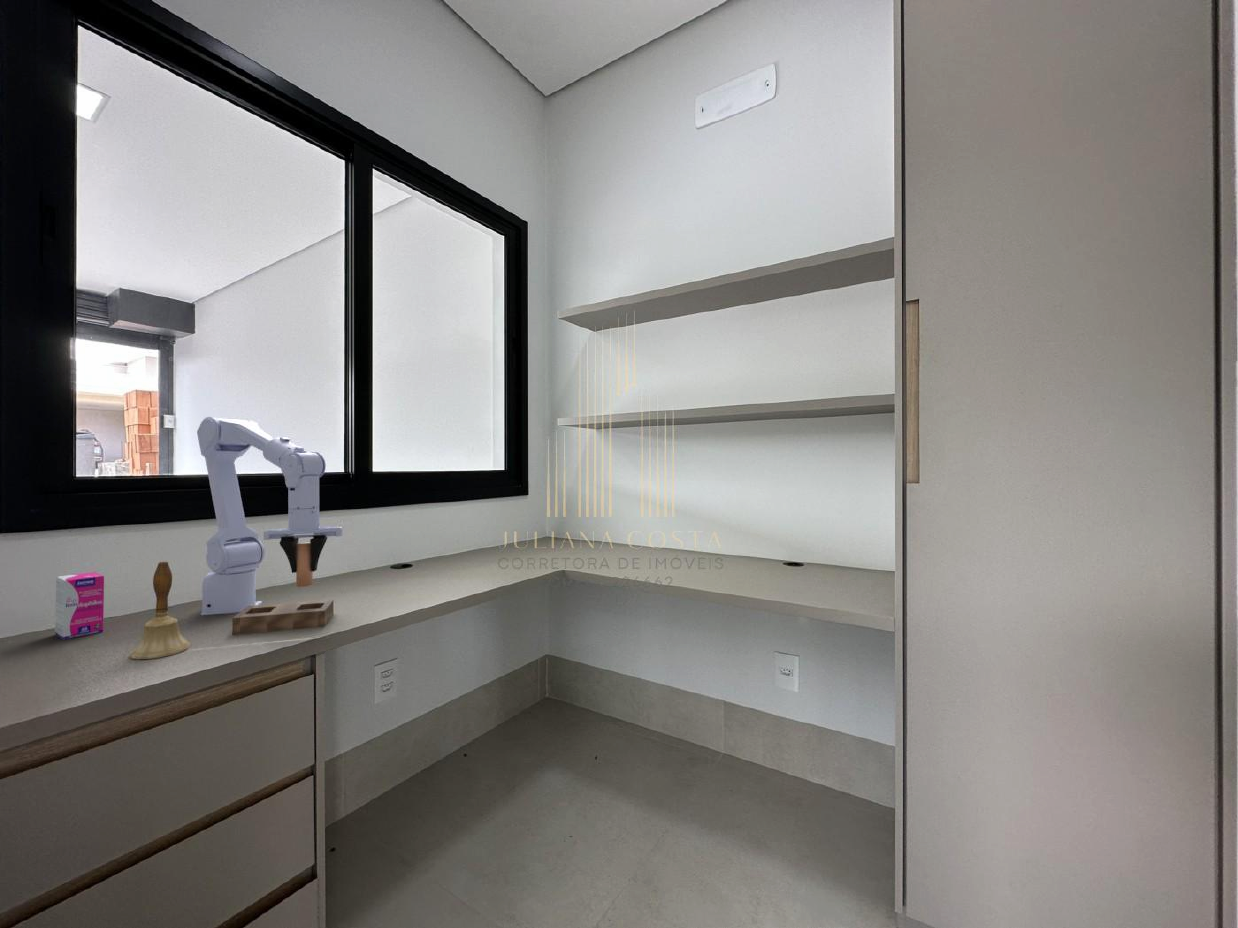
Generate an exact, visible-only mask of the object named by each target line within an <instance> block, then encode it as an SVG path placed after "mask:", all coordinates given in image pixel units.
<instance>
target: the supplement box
mask: <svg viewBox="0 0 1238 928" xmlns="http://www.w3.org/2000/svg"><path fill="white" fill-rule="evenodd" d="M104 600H105V576H104V575H103V574H100V573H98V572H96V571H94V572H86V573H85V572H83V573H77V574H76V573H75V574H68V575H60V576H56V577H55V609H54V610H55V611H54V614H55V615H54V635H55V636H57V637H58V638H59V639H61V640H62V641H63V640H68V639H71V638H77V637H83V636H88V635H93V634H99V633H103V632H104V618H105V617H104V615H105V613H104V610H105V609H104V608H105V607H104V605H105V603H104V602H105V601H104Z"/></svg>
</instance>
